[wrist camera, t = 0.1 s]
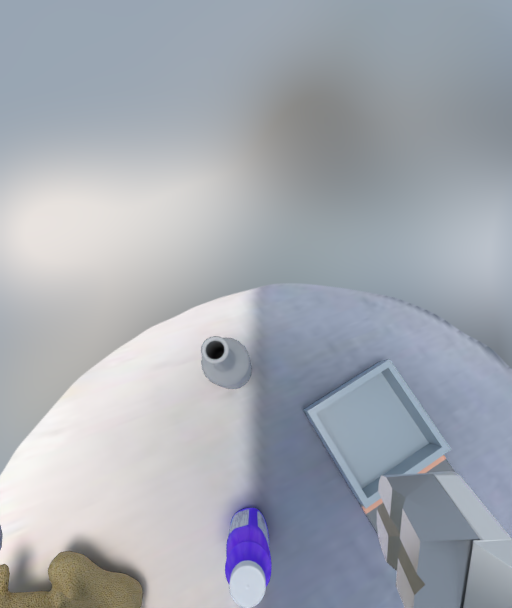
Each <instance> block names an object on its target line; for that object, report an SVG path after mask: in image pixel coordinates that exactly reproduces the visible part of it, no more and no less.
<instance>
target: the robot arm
mask: <svg viewBox="0 0 512 608" xmlns="http://www.w3.org/2000/svg"><path fill="white" fill-rule="evenodd" d="M378 492H379V494H380V497H381V499H382V501H383V503H382V504H381V505H380V506H379V507H378V509H377V530H378V537H379V541H380V545H381V548H382V551H383V554H384V556H385V559H386V562H387V563H388V564H389V565H390V566H391V567H393V568H394V569H395V570H396V571H397V578H396V587H397V589H398V592H399V594H400V597H401V599H402V602H403V604H404V607H405V608H512V538H511V537H510V536H509V535H508V533H507V532H506V531H505V530H504V529H503V527H502V526H501V525H500V524H499V522H498V521H497V520H496V519H495V518H494V516H493V515H492V514H491V513H490V512H489V510H488V509H487V508H486V507H485V505H484V504H483V503H482V502H481V501H480V499H479V498H478V497H477V496H476V495H475V493H474V492H473V491H472V490H471V489H470V487H469V486H468V485H467V484H466V482H465V481H464V480H463V479H462V478H461V476H460V475H459V474H457V473H456V472H454V471H446V472H429V473H419V474H397V475H381V477H380V480H379V487H378ZM1 547H2V530H1V526H0V549H1Z"/></svg>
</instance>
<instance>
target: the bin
mask: <svg viewBox="0 0 512 608" xmlns="http://www.w3.org/2000/svg"><path fill="white" fill-rule="evenodd" d="M303 411H304V412H305V414H306V416H307V417H308V419H309V421H310V422H311V424H312V426H313V427H314V429H315V431H316V432H317V434H318V436H319V437H320V439H321V441H322V442H323V444H324V446H325V447H326V449H327V451H328V452H329V454H330V456H331V457H332V459H333V461H334V462H335V464H336V466H337V467H338V469H339V471H340V472H341V474H342V476H343V477H344V479H345V481H346V482H347V484H348V486H349V487H350V489H351V491H352V492H353V494H354V496H355V497H356V499H357V500H358V501H359V502H360V503H361V504H362V505H363V506H364V507H365V508H368V507H369V506H371V505H372V504H373V503H375V502H376V501H378V500H379V499H381V497H380V494H379V492H378V487H379V480H380V477H381V475H397V474H417V473H418V472H420V471H421V470H422V469H424V468H425V467H427V466H428V465H430V464H431V463H433V462H434V461H435V460H437V459H438V458H440V457H441V456H443V455H444V454H446V453H447V452H448V451H450V450H451V448H450V447H449V445H448V444H447V442H446V441H445V439H444V438H443V437H442V435H441V434H440V432H439V431H438V429H437V428H436V426H435V425H434V423H433V422H432V420H431V419H430V417H429V416H428V415H427V413H426V412H425V410H424V409H423V407H422V406H421V404H420V403H419V401H418V400H417V398H416V397H415V395H414V394H413V393H412V391H411V390H410V388H409V387H408V385H407V384H406V382H405V381H404V379H403V378H402V376H401V375H400V373H399V372H398V371H397V369H396V368H395V366H394V365H393V363H392V362H391V360H390V359H388V360H384V361H381V362H378V363H377V364H375V365H373V366H372V367H370V368H369V369H367V370H366V371H364V372H362V373H361V374H359V375H358V376H356V377H354V378H353V379H351V380H350V381H348V382H347V383H345V384H343V385H342V386H340V387H339V388H337V389H335V390H334V391H332V392H331V393H329V394H327V395H326V396H324V397H323V398H321V399H320V400H318V401H316V402H315V403H313V404H312V405H310V406H308V407H307V408H305V409H304V410H303Z"/></svg>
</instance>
